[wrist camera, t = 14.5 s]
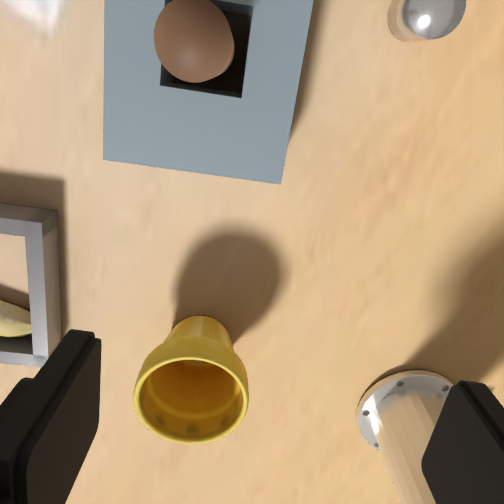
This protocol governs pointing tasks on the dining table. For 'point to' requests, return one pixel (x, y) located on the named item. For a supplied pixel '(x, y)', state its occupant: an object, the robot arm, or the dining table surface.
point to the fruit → (14, 320)
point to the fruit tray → (35, 284)
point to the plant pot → (192, 384)
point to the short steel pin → (424, 18)
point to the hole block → (203, 94)
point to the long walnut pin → (193, 40)
